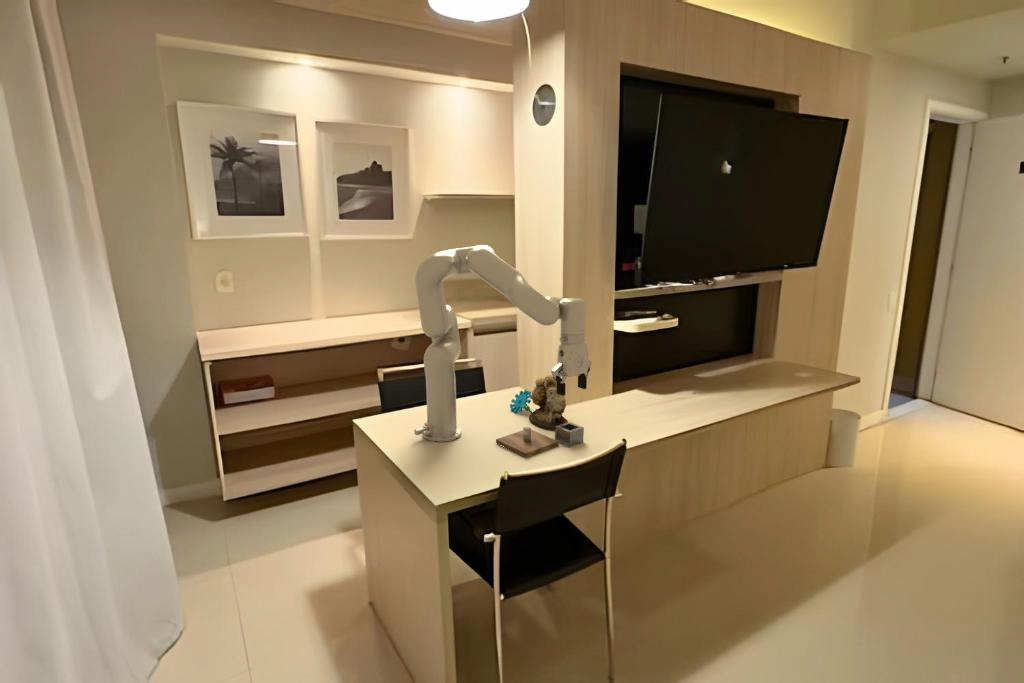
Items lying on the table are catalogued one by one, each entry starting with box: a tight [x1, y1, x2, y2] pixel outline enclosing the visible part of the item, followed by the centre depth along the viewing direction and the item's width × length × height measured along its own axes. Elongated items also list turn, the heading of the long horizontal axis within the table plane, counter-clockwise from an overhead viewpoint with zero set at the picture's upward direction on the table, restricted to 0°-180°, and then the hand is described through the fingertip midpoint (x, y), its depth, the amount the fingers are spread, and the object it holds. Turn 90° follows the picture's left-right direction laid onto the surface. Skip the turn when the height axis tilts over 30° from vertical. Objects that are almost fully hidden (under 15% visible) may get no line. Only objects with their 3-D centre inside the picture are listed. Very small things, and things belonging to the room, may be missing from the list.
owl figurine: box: [528, 374, 569, 431], centre depth 194 cm, size 18×12×17 cm, turn 34°
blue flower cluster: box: [509, 389, 534, 414], centre depth 206 cm, size 11×6×10 cm
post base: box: [495, 426, 559, 459], centre depth 175 cm, size 14×14×6 cm
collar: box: [554, 421, 585, 448], centre depth 178 cm, size 6×6×5 cm
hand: (571, 391), depth 175 cm, fingers open, 9 cm apart
